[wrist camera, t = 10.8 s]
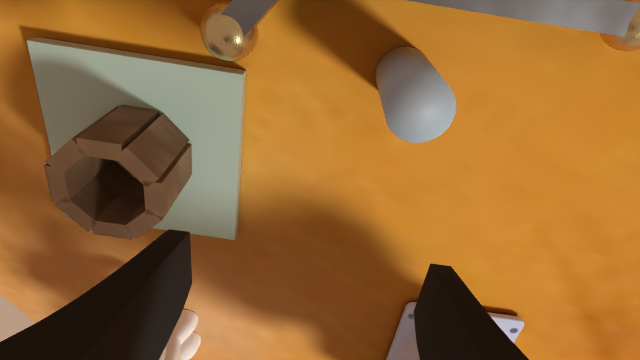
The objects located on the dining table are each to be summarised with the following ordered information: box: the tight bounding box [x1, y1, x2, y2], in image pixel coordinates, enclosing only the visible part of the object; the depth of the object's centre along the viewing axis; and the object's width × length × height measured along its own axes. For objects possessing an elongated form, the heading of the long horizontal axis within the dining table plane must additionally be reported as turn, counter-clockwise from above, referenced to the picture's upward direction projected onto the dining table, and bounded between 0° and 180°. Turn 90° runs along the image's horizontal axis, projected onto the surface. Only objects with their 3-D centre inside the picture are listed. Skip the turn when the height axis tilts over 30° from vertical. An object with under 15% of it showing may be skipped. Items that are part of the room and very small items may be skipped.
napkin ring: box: [44, 105, 192, 239], centre depth 19 cm, size 5×5×4 cm
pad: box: [27, 37, 246, 240], centre depth 21 cm, size 10×10×1 cm
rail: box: [200, 0, 640, 61], centre depth 17 cm, size 6×19×3 cm, turn 82°
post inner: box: [375, 46, 456, 143], centre depth 17 cm, size 3×3×5 cm
